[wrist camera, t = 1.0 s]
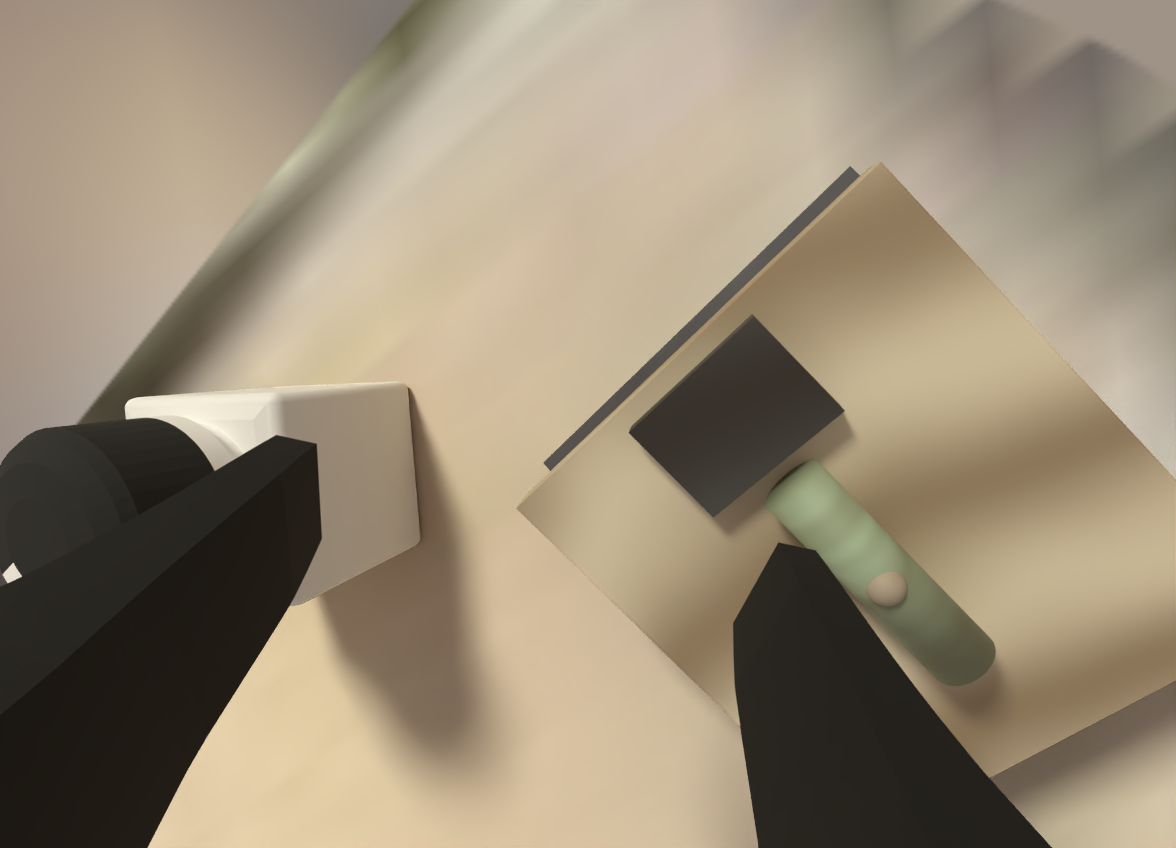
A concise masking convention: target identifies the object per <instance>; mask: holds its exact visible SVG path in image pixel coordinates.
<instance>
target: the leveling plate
mask: <svg viewBox="0 0 1176 848" xmlns="http://www.w3.org/2000/svg"><path fill="white" fill-rule="evenodd" d="M516 509H518V510H519V511H520V512H521V513H522V514H523V515H524V516H525V517H526V518H527V519H528V520H529V521H530V522H531V523H532V524H533V525H534V526H535V527H536V528H537V529H538V530H539V531H540V532H541V533H542V534H543V535H544V536H545V537H546V538H547V539H548V540H549V541H550V542H551V543H552V544H553V545H554V546H555V547H557V548H558V549H559V550H560V551H561V552H562V553H563V554H564V555H565V556H566V557H567V558H568V559H569V560H570V561H571V562H572V563H573V564H574V565H575V566H576V567H577V568H578V569H579V570H580V571H581V572H582V573H583V574H584V575H585V576H586V577H587V578H588V579H589V580H590V581H591V582H592V583H593V584H595V585H596V586H597V587H598V588H599V589H600V590H601V591H602V592H603V593H604V594H605V595H606V596H607V597H608V598H609V599H610V600H611V601H612V602H613V603H614V604H615V605H616V606H617V607H618V608H619V609H620V610H621V611H622V612H623V613H624V614H625V615H626V616H627V617H628V618H629V619H630V620H631V621H632V622H634V623H635V624H636V625H637V626H638V627H639V628H640V629H641V630H642V631H643V632H644V633H645V634H646V635H647V636H648V637H649V638H650V639H651V640H652V641H653V642H654V643H655V644H656V645H657V646H658V647H659V648H660V649H661V650H662V651H663V652H664V653H665V654H666V655H667V656H668V657H669V658H670V659H671V660H673V661H674V662H675V663H676V664H677V665H678V666H679V667H680V668H681V669H682V670H683V671H684V672H685V673H686V674H687V675H688V676H689V677H690V678H691V679H692V680H693V681H694V682H695V683H696V684H697V685H698V686H699V687H700V688H701V689H702V690H703V691H704V692H705V693H706V694H707V695H708V696H709V697H711V698H712V699H713V700H714V701H715V702H716V703H717V704H718V705H719V706H720V707H721V708H722V709H723V710H724V711H725V712H726V713H727V714H728V715H729V716H730V717H731V718H732V719H733V720H734V721H735V722H736V723H737V724H738V725H739V726H740V721H739V714H738V707H737V700H736V692H735V683H734V658H733V622H734V621H735V619H736V617H737V615H738V613H739V612H740V610H741V608H742V606H743V604H744V603H745V601H746V599H747V597H748V596H749V594H750V592H751V590H752V588H753V587H754V585H755V583H756V581H757V580H758V578H759V576H760V574H761V572H762V571H763V569H764V567H765V565H766V563H767V562H768V560H769V558H770V556H771V555H772V553H773V551H774V549H775V547H776V546H777V544H778V542H779V543H784V544H788V545H793V546H798V547H802V548H807V549H812V550H816V551H817V553H818V554H819V555H820V557H821V558H822V559H823V560H824V562H825V563H826V564H827V566H828V567H829V569H830V570H831V571H832V573H833V574H834V575H835V577H836V578H837V580H838V581H839V582H840V584H841V585H842V587H843V588H844V589H845V591H846V592H847V594H848V595H849V596H850V598H851V599H852V601H853V602H854V603H855V605H856V606H857V608H858V609H859V610H860V612H861V613H862V615H863V616H864V617H865V619H866V620H867V622H868V623H869V624H870V626H871V627H872V629H873V630H874V631H875V633H876V634H877V636H878V637H879V638H880V640H881V641H882V642H883V644H884V645H885V647H886V648H887V649H888V651H889V652H890V653H891V655H892V656H893V658H894V659H895V660H896V662H897V663H898V664H899V666H900V667H901V668H902V670H903V671H904V672H905V674H906V675H907V676H908V678H909V679H910V680H911V682H912V683H913V684H914V686H915V687H916V688H917V689H918V691H919V692H920V693H921V695H922V696H923V697H924V699H925V700H926V701H927V702H928V704H929V705H930V706H931V708H932V709H933V710H934V711H935V713H936V714H937V715H938V716H939V718H940V719H941V720H942V721H943V723H944V724H945V725H946V726H947V728H948V729H949V730H950V731H951V732H952V734H953V735H954V736H955V737H956V739H957V740H958V741H959V742H960V743H961V745H962V746H963V747H964V748H965V750H966V751H967V752H968V753H969V755H970V756H971V757H972V758H973V759H974V761H975V762H976V763H977V764H978V765H979V767H980V768H981V769H982V770H983V771H984V772H985V774H986V775H987V776H988V777H989V778H991V777H993V776H994V775H996V774H998V773H1000V772H1002V771H1004V770H1006V769H1008V768H1010V767H1012V766H1014V765H1015V764H1017V763H1019V762H1021V761H1023V760H1025V759H1027V758H1029V757H1031V756H1033V755H1035V754H1037V753H1038V752H1040V751H1042V750H1044V749H1046V748H1048V747H1050V746H1052V745H1054V744H1056V743H1058V742H1059V741H1061V740H1063V739H1065V738H1067V737H1069V736H1071V735H1073V734H1075V733H1077V732H1079V731H1081V730H1082V729H1084V728H1086V727H1088V726H1090V725H1092V724H1094V723H1096V722H1098V721H1100V720H1102V719H1103V718H1105V717H1107V716H1109V715H1111V714H1113V713H1115V712H1117V711H1119V710H1121V709H1123V708H1124V707H1126V706H1128V705H1130V704H1132V703H1134V702H1136V701H1138V700H1140V699H1142V698H1144V697H1146V696H1147V695H1149V694H1151V693H1153V692H1155V691H1157V690H1159V689H1161V688H1163V687H1165V686H1167V685H1168V684H1170V683H1172V682H1174V681H1176V479H1175V478H1174V477H1173V476H1172V475H1171V474H1170V473H1169V472H1168V471H1167V470H1166V469H1165V468H1164V466H1163V465H1162V464H1161V463H1160V462H1159V461H1158V460H1157V459H1156V458H1155V457H1154V456H1153V455H1152V454H1151V452H1150V451H1149V450H1148V449H1147V448H1146V447H1145V446H1144V445H1143V444H1142V443H1141V442H1140V441H1139V440H1138V438H1137V437H1136V436H1135V435H1134V434H1133V433H1132V432H1131V431H1130V430H1129V429H1128V428H1127V427H1126V425H1125V424H1124V423H1123V422H1122V421H1121V420H1120V419H1119V418H1118V417H1117V416H1116V415H1115V414H1114V413H1113V411H1112V410H1111V409H1110V408H1109V407H1108V406H1107V405H1106V404H1105V403H1104V402H1103V401H1102V400H1101V399H1100V397H1099V396H1098V395H1097V394H1096V393H1095V392H1094V391H1093V390H1092V389H1091V388H1090V387H1089V386H1088V385H1087V383H1086V382H1085V381H1084V380H1083V379H1082V378H1081V377H1080V376H1079V375H1078V374H1077V373H1076V372H1075V371H1074V369H1073V368H1072V367H1071V366H1070V365H1069V364H1068V363H1067V362H1066V361H1065V360H1064V359H1063V358H1062V356H1061V355H1060V354H1059V353H1058V352H1057V351H1056V350H1055V349H1054V348H1053V347H1052V346H1051V345H1050V344H1049V342H1048V341H1047V340H1046V339H1045V338H1044V337H1043V336H1042V335H1041V334H1040V333H1039V332H1038V331H1037V330H1036V328H1035V327H1034V326H1033V325H1032V324H1031V323H1030V322H1029V321H1028V320H1027V319H1026V318H1025V317H1024V316H1023V314H1022V313H1021V312H1020V311H1019V310H1018V309H1017V308H1016V307H1015V306H1014V305H1013V304H1012V303H1011V302H1010V300H1009V299H1008V298H1007V297H1006V296H1005V295H1004V294H1003V293H1002V292H1001V291H1000V290H999V289H998V287H997V286H996V285H995V284H994V283H993V282H992V281H991V280H990V279H989V278H988V277H987V276H986V275H985V273H984V272H983V271H982V270H981V269H980V268H979V267H978V266H977V265H976V264H975V263H974V262H973V261H972V259H971V258H970V257H969V256H968V255H967V254H966V253H965V252H964V251H963V250H962V249H961V248H960V247H959V245H958V244H957V243H956V242H955V241H954V240H953V239H952V238H951V237H950V236H949V235H948V234H947V233H946V231H945V230H944V229H943V228H942V227H941V226H940V225H939V224H938V223H937V222H936V221H935V220H934V218H933V217H932V216H931V215H930V214H929V213H928V212H927V211H926V210H925V209H924V208H923V207H922V206H921V204H920V203H919V202H918V201H917V200H916V199H915V198H914V197H913V196H912V195H911V194H910V193H909V192H908V190H907V189H906V188H905V187H904V186H903V185H902V184H901V183H900V182H899V181H898V180H897V179H896V178H895V176H894V175H893V174H892V173H891V172H890V171H889V170H888V169H887V168H886V167H885V166H884V165H883V164H882V162H880V163H878V164H876V165H874V166H872V167H870V168H868V169H867V170H866V171H865V172H864V173H863V174H861V175H860V176H859V177H858V178H857V179H856V180H855V181H854V182H853V183H852V184H851V185H850V186H849V187H848V188H847V189H846V190H845V191H844V192H843V193H842V194H840V195H839V196H838V197H837V198H836V199H835V200H834V201H833V202H832V203H831V204H830V205H829V206H828V207H827V208H826V209H825V210H824V211H823V212H822V213H821V214H820V215H818V216H817V217H816V218H815V219H814V220H813V221H812V222H811V223H810V224H809V225H808V226H807V227H806V228H805V229H804V230H803V231H802V232H801V233H800V234H799V235H798V236H796V237H795V238H794V239H793V240H792V241H791V242H790V243H789V244H788V245H787V246H786V247H785V248H784V249H783V250H782V251H781V252H780V253H779V254H778V255H777V256H775V257H774V258H773V259H772V260H771V261H770V262H769V263H768V264H767V265H766V266H765V267H764V268H763V269H762V270H761V271H760V272H759V273H758V274H757V275H756V276H755V277H753V278H752V279H751V280H750V281H749V282H748V283H747V284H746V285H745V286H744V287H743V288H742V289H741V290H740V291H739V292H738V293H737V294H736V295H735V296H734V297H733V298H731V299H730V300H729V301H728V302H727V303H726V304H725V305H724V306H723V307H722V308H721V309H720V310H719V311H718V312H717V313H716V314H715V315H714V316H713V317H712V318H710V319H709V320H708V321H707V322H706V323H705V324H704V325H703V326H702V327H701V328H700V329H699V330H698V331H697V332H696V333H695V334H694V335H693V336H692V337H691V338H690V339H688V340H687V341H686V342H685V343H684V344H683V345H682V346H681V347H680V348H679V349H678V350H677V351H676V352H675V353H674V354H673V355H672V356H671V357H670V358H669V359H667V360H666V361H665V362H664V363H663V364H662V365H661V366H660V367H659V368H658V369H657V370H656V371H655V372H654V373H653V374H652V375H651V376H650V377H649V378H648V379H647V380H645V381H644V382H643V383H642V384H641V385H640V386H639V387H638V388H637V389H636V390H635V391H634V392H633V393H632V394H631V395H630V396H629V397H628V398H627V399H626V400H625V401H623V402H622V403H621V404H620V405H619V406H618V407H617V408H616V409H615V410H614V411H613V412H612V413H611V414H610V415H609V416H608V417H607V418H606V419H605V420H604V421H602V422H601V423H600V424H599V425H598V426H597V427H596V428H595V429H594V430H593V431H592V432H591V433H590V434H589V435H588V436H587V437H586V438H585V439H584V440H583V441H582V442H580V443H579V444H578V445H577V446H576V447H575V448H574V449H573V450H572V451H571V452H570V453H569V454H568V455H567V456H566V457H565V458H564V459H563V460H562V461H561V462H560V463H558V464H557V465H556V466H555V467H554V468H553V469H552V470H551V471H550V472H549V473H548V474H547V475H546V476H545V477H544V478H543V479H542V480H541V481H540V482H539V483H537V484H536V485H535V486H534V487H533V488H532V489H531V490H530V491H529V492H528V493H527V495H526V496H525V497H524V499H523V500H522V502H521V503H520V504H519V506H518V507H517V508H516Z"/></svg>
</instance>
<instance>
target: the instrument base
mask: <svg viewBox="0 0 1176 848" xmlns="http://www.w3.org/2000/svg"><path fill="white" fill-rule="evenodd" d="M859 176H860V175H859V174H858V173H857V172H856V171H855V170H854V169H853V168H852V167H849V168H848V169H847V170H846V171H845V172H844V173H843V174H842V175H841V176H840V177H839V178H838V179H837V180H836V181H834V182H833V183H832V184H831V185H830V186H829V187H828V188H827V189H826V190H825V191H824V192H823V193H822V194H821V195H820V196H819V197H818V198H817V199H816V200H815V201H814V202H813V203H812V204H811V205H810V206H809V207H808V208H807V209H806V210H804V211H803V212H802V213H801V214H800V215H799V216H798V217H797V218H796V219H795V220H794V221H793V222H792V223H791V224H790V225H789V226H788V227H787V228H786V229H785V230H784V231H783V232H782V233H781V234H780V235H779V236H778V237H777V238H775V239H774V240H773V241H772V242H771V243H770V244H769V245H768V246H767V247H766V248H765V249H764V250H763V251H762V252H761V253H760V254H759V255H758V256H757V257H756V258H755V259H754V260H753V261H752V262H751V263H750V264H749V265H748V266H746V267H745V268H744V269H743V270H742V271H741V272H740V273H739V274H738V275H737V276H736V277H735V278H734V279H733V280H732V281H731V282H730V283H729V284H728V285H727V286H726V287H725V288H724V289H723V290H722V291H721V292H720V293H719V294H718V295H716V296H715V297H714V298H713V299H712V300H711V301H710V302H709V303H708V304H707V305H706V306H705V307H704V308H703V309H702V310H701V311H700V312H699V313H698V314H697V315H696V316H695V317H694V318H693V319H692V320H691V321H690V322H689V323H687V324H686V325H685V326H684V327H683V328H682V329H681V330H680V331H679V332H678V333H677V334H676V335H675V336H674V337H673V338H672V339H671V340H670V341H669V342H668V343H667V344H666V345H665V346H664V347H663V348H662V349H661V350H660V351H659V352H657V353H656V354H655V355H654V356H653V357H652V358H651V359H650V360H649V361H648V362H647V363H646V364H645V365H644V366H643V367H642V368H641V369H640V370H639V371H638V372H637V373H636V374H635V375H634V376H633V377H632V378H631V379H630V380H628V381H627V382H626V383H625V384H624V385H623V386H622V387H621V388H620V389H619V390H618V391H617V392H616V393H615V394H614V395H613V396H612V397H611V398H610V399H609V400H608V401H607V402H606V403H605V404H604V405H603V406H602V407H601V408H600V409H598V410H597V411H596V412H595V413H594V414H593V415H592V416H591V417H590V418H589V419H588V420H587V421H586V422H585V423H584V424H583V425H582V426H581V427H580V428H579V429H578V430H577V431H576V432H575V433H574V434H573V435H572V436H571V437H569V438H568V439H567V440H566V441H565V442H564V443H563V444H562V445H561V446H560V447H559V448H558V449H557V450H556V451H555V452H554V453H553V454H552V455H551V456H550V457H549V458H548V459H547V460H546V461H545V462H544V464H545V465H546V466H547V468H548V469H549V470H550V471H551V470H552V469H553V468H554V467H555V466H556V465H557V464H558V463H560V462H561V461H562V460H563V459H564V458H565V457H566V456H567V455H568V454H569V453H570V452H571V451H572V450H573V449H574V448H575V447H576V446H577V445H578V444H579V443H580V442H582V441H583V440H584V439H585V438H586V437H587V436H588V435H589V434H590V433H591V432H592V431H593V430H594V429H595V428H596V427H597V426H598V425H599V424H600V423H601V422H602V421H604V420H605V419H606V418H607V417H608V416H609V415H610V414H611V413H612V412H613V411H614V410H615V409H616V408H617V407H618V406H619V405H620V404H621V403H622V402H623V401H625V400H626V399H627V398H628V397H629V396H630V395H631V394H632V393H633V392H634V391H635V390H636V389H637V388H638V387H639V386H640V385H641V384H642V383H643V382H644V381H645V380H647V379H648V378H649V377H650V376H651V375H652V374H653V373H654V372H655V371H656V370H657V369H658V368H659V367H660V366H661V365H662V364H663V363H664V362H665V361H666V360H667V359H669V358H670V357H671V356H672V355H673V354H674V353H675V352H676V351H677V350H678V349H679V348H680V347H681V346H682V345H683V344H684V343H685V342H686V341H687V340H688V339H690V338H691V337H692V336H693V335H694V334H695V333H696V332H697V331H698V330H699V329H700V328H701V327H702V326H703V325H704V324H705V323H706V322H707V321H708V320H709V319H710V318H712V317H713V316H714V315H715V314H716V313H717V312H718V311H719V310H720V309H721V308H722V307H723V306H724V305H725V304H726V303H727V302H728V301H729V300H730V299H731V298H733V297H734V296H735V295H736V294H737V293H738V292H739V291H740V290H741V289H742V288H743V287H744V286H745V285H746V284H747V283H748V282H749V281H750V280H751V279H752V278H753V277H755V276H756V275H757V274H758V273H759V272H760V271H761V270H762V269H763V268H764V267H765V266H766V265H767V264H768V263H769V262H770V261H771V260H772V259H773V258H774V257H775V256H777V255H778V254H779V253H780V252H781V251H782V250H783V249H784V248H785V247H786V246H787V245H788V244H789V243H790V242H791V241H792V240H793V239H794V238H795V237H796V236H798V235H799V234H800V233H801V232H802V231H803V230H804V229H805V228H806V227H807V226H808V225H809V224H810V223H811V222H812V221H813V220H814V219H815V218H816V217H817V216H818V215H820V214H821V213H822V212H823V211H824V210H825V209H826V208H827V207H828V206H829V205H830V204H831V203H832V202H833V201H834V200H835V199H836V198H837V197H838V196H839V195H840V194H842V193H843V192H844V191H845V190H846V189H847V188H848V187H849V186H850V185H851V184H852V183H853V182H854V181H855V180H856V179H857V178H858V177H859Z"/></svg>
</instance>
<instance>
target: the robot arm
mask: <svg viewBox="0 0 1176 848" xmlns="http://www.w3.org/2000/svg"><path fill="white" fill-rule="evenodd" d="M321 540H322V528H321V510H320V492H319V474H318V456H317V444H316V443H312V442H307V441H302V440H298V439H293V438H288V437H284V436H279V435H275V436H273V437H272V438H270V439H268V440H266V441H265V442H263V443H261V444H259V445H258V446H256V447H254V448H253V449H251V450H249V451H248V452H246V453H244V454H242V455H241V456H239V457H237V458H236V459H234V460H232V461H231V462H229V463H227V464H226V465H224V466H222V467H221V468H219V469H217V470H216V471H214V472H212V473H211V474H209V475H207V476H205V477H204V478H202V479H200V480H199V481H197V482H195V483H194V484H192V485H190V486H189V487H187V488H185V489H184V490H182V491H180V492H178V493H177V494H175V495H173V496H171V497H170V498H168V499H166V500H164V501H163V502H161V503H159V504H157V505H156V506H154V507H152V508H150V509H149V510H147V511H145V512H143V513H142V514H140V515H138V516H136V517H135V518H133V519H131V520H129V521H128V522H126V523H124V524H122V525H120V526H118V527H116V528H114V529H112V530H111V531H109V532H107V533H105V534H103V535H101V536H99V537H97V538H95V539H94V540H92V541H90V542H88V543H86V544H84V545H82V546H80V547H78V548H76V549H75V550H73V551H71V552H69V553H67V554H65V555H63V556H61V557H59V558H57V559H56V560H54V561H52V562H50V563H48V564H46V565H44V566H42V567H40V568H38V569H36V570H34V571H32V572H30V573H28V574H26V575H24V576H22V577H20V578H18V579H16V580H14V581H12V582H9V583H7V584H5V585H3V586H1V587H0V848H147V847H148V846H149V844H150V842H151V840H152V838H153V836H154V834H155V832H156V830H157V828H158V826H159V824H160V822H161V820H162V818H163V816H164V814H165V813H166V811H167V809H168V807H169V805H170V803H171V801H172V799H173V797H174V795H175V793H176V791H177V789H178V787H179V785H180V783H181V781H182V780H183V778H184V776H185V774H186V772H187V770H188V768H189V767H190V765H191V763H192V761H193V760H194V758H195V756H196V755H197V753H198V751H199V749H200V748H201V746H202V744H203V743H204V741H205V739H206V737H207V736H208V734H209V733H210V731H211V730H212V728H213V726H214V725H215V723H216V722H217V720H218V718H219V717H220V715H221V714H222V712H223V711H224V709H225V707H226V706H227V704H228V703H229V701H230V700H231V698H232V696H233V695H234V693H235V692H236V690H237V689H238V687H239V685H240V684H241V682H242V681H243V679H244V677H245V676H246V674H247V673H248V671H249V670H250V668H251V666H252V665H253V663H254V662H255V660H256V659H257V657H258V655H259V654H260V652H261V651H262V649H263V648H264V646H265V644H266V643H267V641H268V640H269V638H270V636H271V635H272V633H273V632H274V630H275V628H276V627H277V625H278V624H279V622H280V620H281V619H282V617H283V616H284V614H285V612H286V611H287V609H288V607H289V606H290V604H291V602H292V601H293V599H294V597H295V595H296V593H297V591H298V589H299V587H300V585H301V583H302V581H303V579H304V577H305V575H306V573H307V571H308V568H309V566H310V564H311V562H312V560H313V557H314V555H315V553H316V551H317V549H318V547H319V544H320V542H321ZM733 658H734V683H735V692H736V700H737V707H738V714H739V721H740V727H741V734H742V741H743V748H744V754H745V761H746V767H747V774H748V780H749V787H750V793H751V800H752V806H753V813H754V819H755V826H756V832H757V839H758V847H759V848H1052V847H1051V846H1050V845H1049V844H1048V843H1047V842H1046V841H1045V840H1044V838H1043V837H1042V836H1041V835H1040V834H1039V833H1038V832H1037V831H1036V830H1035V829H1034V827H1033V826H1032V825H1031V824H1030V823H1029V822H1028V821H1027V820H1026V819H1025V817H1024V816H1023V815H1022V814H1021V813H1020V812H1019V811H1018V810H1017V809H1016V808H1015V806H1014V805H1013V804H1012V803H1011V802H1010V801H1009V800H1008V799H1007V798H1006V796H1005V795H1004V794H1003V793H1002V792H1001V791H1000V790H999V789H998V788H997V786H996V785H995V784H994V783H993V782H992V781H991V779H990V778H989V777H988V776H987V775H986V774H985V772H984V771H983V770H982V769H981V768H980V767H979V765H978V764H977V763H976V762H975V761H974V759H973V758H972V757H971V756H970V755H969V753H968V752H967V751H966V750H965V748H964V747H963V746H962V745H961V743H960V742H959V741H958V740H957V739H956V737H955V736H954V735H953V734H952V732H951V731H950V730H949V729H948V728H947V726H946V725H945V724H944V723H943V721H942V720H941V719H940V718H939V716H938V715H937V714H936V713H935V711H934V710H933V709H932V708H931V706H930V705H929V704H928V702H927V701H926V700H925V699H924V697H923V696H922V695H921V693H920V692H919V691H918V689H917V688H916V687H915V686H914V684H913V683H912V682H911V680H910V679H909V678H908V676H907V675H906V674H905V672H904V671H903V670H902V668H901V667H900V666H899V664H898V663H897V662H896V660H895V659H894V658H893V656H892V655H891V653H890V652H889V651H888V649H887V648H886V647H885V645H884V644H883V642H882V641H881V640H880V638H879V637H878V636H877V634H876V633H875V631H874V630H873V629H872V627H871V626H870V624H869V623H868V622H867V620H866V619H865V617H864V616H863V615H862V613H861V612H860V610H859V609H858V608H857V606H856V605H855V603H854V602H853V601H852V599H851V598H850V596H849V595H848V594H847V592H846V591H845V589H844V588H843V587H842V585H841V584H840V582H839V581H838V580H837V578H836V577H835V575H834V574H833V573H832V571H831V570H830V569H829V567H828V566H827V564H826V563H825V562H824V560H823V559H822V558H821V557H820V555H819V554H818V553H817V551H816V550H812V549H807V548H802V547H798V546H793V545H788V544H784V543H779V542H778V544H777V546H776V547H775V549H774V551H773V553H772V555H771V556H770V558H769V560H768V562H767V563H766V565H765V567H764V569H763V571H762V572H761V574H760V576H759V578H758V580H757V581H756V583H755V585H754V587H753V588H752V590H751V592H750V594H749V596H748V597H747V599H746V601H745V603H744V604H743V606H742V608H741V610H740V612H739V613H738V615H737V617H736V619H735V621H734V622H733Z"/></svg>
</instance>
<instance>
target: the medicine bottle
mask: <svg viewBox="0 0 1176 848" xmlns="http://www.w3.org/2000/svg"><path fill="white" fill-rule="evenodd" d="M125 413H126V420H117V421H108V422H98V423H89V424H80V425H71V426H61V427H53V428H44V429H41V430H37V431H35V432H33V433H31V434H29V435H28V436H26V437H25V438H24V439H23V440H22V441H20V442H19V443H18V444H17V445H16V446H15V447H14V448H13V449H12V450H11V451H10V452H9V453H8V454H7V456H6V457H5V458H4V460H3V461H2V463H1V465H0V569H1V571H2V574H3V576H4V578H5V579H6V581H7V583H9V582H12V581H14V580H16V579H18V578H20V577H22V576H24V575H26V574H28V573H30V572H32V571H34V570H36V569H38V568H40V567H42V566H44V565H46V564H48V563H50V562H52V561H54V560H56V559H57V558H59V557H61V556H63V555H65V554H67V553H69V552H71V551H73V550H75V549H76V548H78V547H80V546H82V545H84V544H86V543H88V542H90V541H92V540H94V539H95V538H97V537H99V536H101V535H103V534H105V533H107V532H109V531H111V530H112V529H114V528H116V527H118V526H120V525H122V524H124V523H126V522H128V521H129V520H131V519H133V518H135V517H136V516H138V515H140V514H142V513H143V512H145V511H147V510H149V509H150V508H152V507H154V506H156V505H157V504H159V503H161V502H163V501H164V500H166V499H168V498H170V497H171V496H173V495H175V494H177V493H178V492H180V491H182V490H184V489H185V488H187V487H189V486H190V485H192V484H194V483H195V482H197V481H199V480H200V479H202V478H204V477H205V476H207V475H209V474H211V473H212V472H214V471H216V470H217V469H219V468H221V467H222V466H224V465H226V464H227V463H229V462H231V461H232V460H234V459H236V458H237V457H239V456H241V455H242V454H244V453H246V452H248V451H249V450H251V449H253V448H254V447H256V446H258V445H259V444H261V443H263V442H265V441H266V440H268V439H270V438H272V437H273V436H275V435H279V436H284V437H288V438H293V439H298V440H302V441H307V442H312V443H316V444H317V456H318V474H319V492H320V510H321V528H322V540H321V542H320V544H319V547H318V549H317V551H316V553H315V555H314V557H313V560H312V562H311V564H310V566H309V568H308V571H307V573H306V575H305V577H304V579H303V581H302V583H301V585H300V587H299V589H298V591H297V593H296V595H295V597H294V599H293V601H292V602H291V604H290V606H295V605H300V604H303V603H305V602H307V601H309V600H311V599H313V598H315V597H316V596H318V595H320V594H322V593H324V592H326V591H328V590H330V589H332V588H334V587H336V586H338V585H340V584H342V583H344V582H346V581H348V580H350V579H352V578H353V577H355V576H357V575H359V574H361V573H363V572H365V571H367V570H369V569H371V568H373V567H375V566H377V565H379V564H381V563H383V562H385V561H387V560H389V559H391V558H392V557H394V556H396V555H398V554H400V553H402V552H404V551H406V550H408V549H410V548H412V547H414V546H416V545H417V544H418V542H419V541H420V527H419V515H418V503H417V491H416V479H415V468H414V456H413V444H412V432H411V420H410V408H409V396H408V388H407V386H406V385H405V384H404V383H402V382H398V381H395V382H372V383H350V384H327V385H305V386H282V387H268V388H255V389H242V390H229V391H216V392H203V393H190V394H177V395H164V396H151V397H138V398H134V399H131V400H129V401H128V402H127V404H126V406H125Z"/></svg>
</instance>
